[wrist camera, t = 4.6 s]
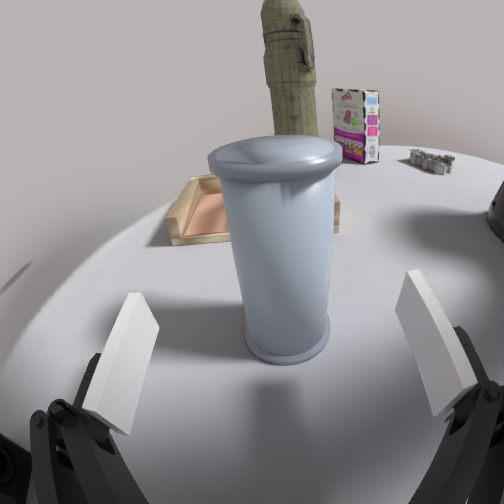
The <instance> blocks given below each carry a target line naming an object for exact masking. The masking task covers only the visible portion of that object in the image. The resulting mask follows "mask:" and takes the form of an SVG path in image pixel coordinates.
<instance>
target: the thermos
mask: <svg viewBox="0 0 504 504" xmlns="http://www.w3.org/2000/svg"><path fill="white" fill-rule="evenodd" d="M261 20H262V27H263V37H264V43H265V54H264V66H265V74H266V82H267V85H268V87H269V88H270V93H271V102H272V111H273V119H274V130H275V135H307V136H315V137H319V134H318V132H317V118H316V117H317V116H316V104H315V103H316V102H315V90H314V87H315V84H316V73H315V63H314V48H313V40H312V33H311V26H310V21H309V20H308V18H307V17H306V16H305V15H304V11H303V9H302V7H301V6H300V4H299V2H298V1H297V0H265V1H264V2H263V6H262V10H261Z"/></svg>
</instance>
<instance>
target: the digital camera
mask: <svg viewBox="0 0 504 504" xmlns="http://www.w3.org/2000/svg"><path fill="white" fill-rule="evenodd" d="M31 470H32V457H31V453H30V452H28V451H26V450H25V449H23V448H22V447H20V446H19V445H17V444H16V443H14V442H13V441H11V440H10V439H8V438H7V437H5V436H4V435H2V434H1V433H0V504H26V497H27V491H28V485H29V480H30V474H31Z"/></svg>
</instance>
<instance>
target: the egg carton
mask: <svg viewBox="0 0 504 504" xmlns="http://www.w3.org/2000/svg"><path fill="white" fill-rule="evenodd" d="M408 149H409V148H408ZM409 150H410V149H409ZM410 151H411V153H410V162H411V164H414V165H420V166H422V168H424V169H429V170H433V171H434V173H436V174H441V175H446V172H447V173H452V162H453V161H454V160H455V157H452V156H449V155H445V156H444V157H443V156H441V155H439V156H436V155H434V154H430V153H425V151H422V150H420V151H419V149H417V150H416V149H415V150H414V149H412V150H410Z"/></svg>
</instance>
